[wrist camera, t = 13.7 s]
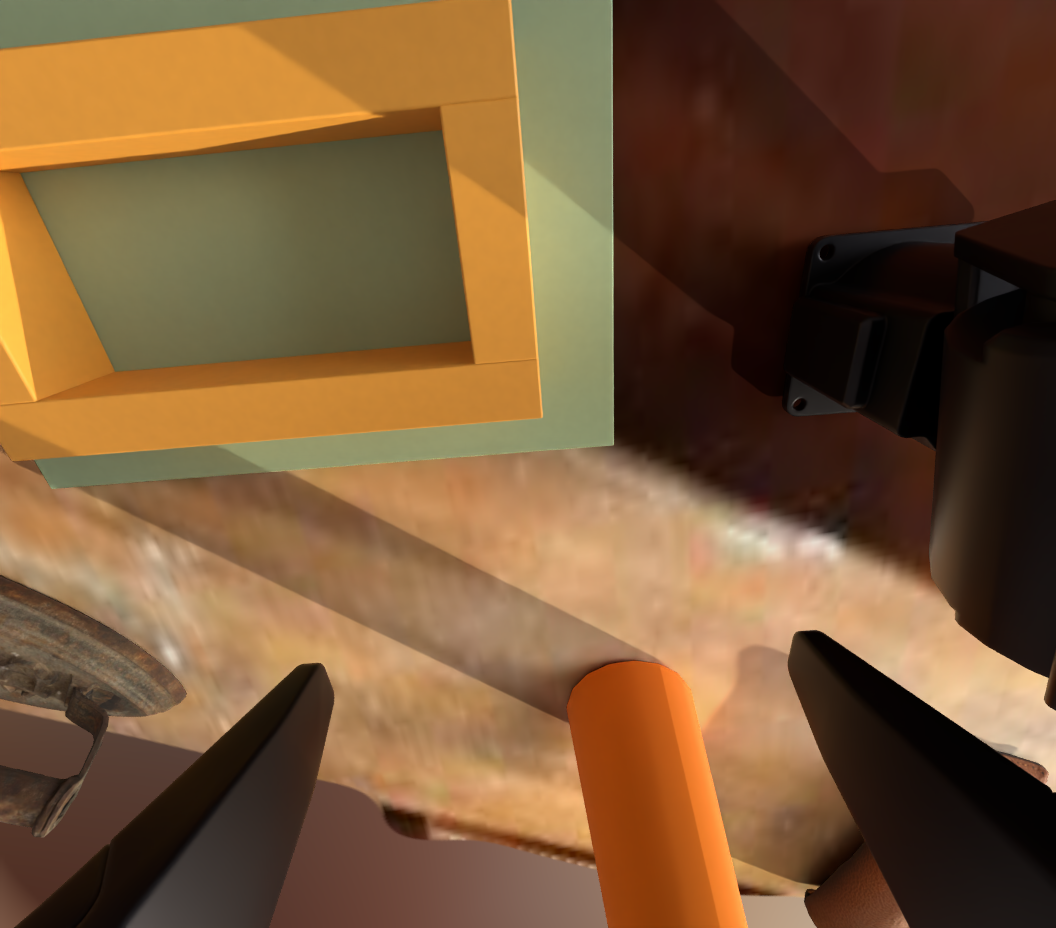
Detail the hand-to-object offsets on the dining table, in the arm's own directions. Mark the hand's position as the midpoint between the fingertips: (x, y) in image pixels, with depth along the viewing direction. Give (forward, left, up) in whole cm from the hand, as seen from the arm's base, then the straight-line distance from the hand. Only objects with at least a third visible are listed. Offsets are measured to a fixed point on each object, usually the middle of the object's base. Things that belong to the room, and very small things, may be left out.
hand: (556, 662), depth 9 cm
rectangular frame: (+9, -7, -12) cm, 16 cm away
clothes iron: (+25, +11, -12) cm, 30 cm away
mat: (+9, -7, -12) cm, 17 cm away
